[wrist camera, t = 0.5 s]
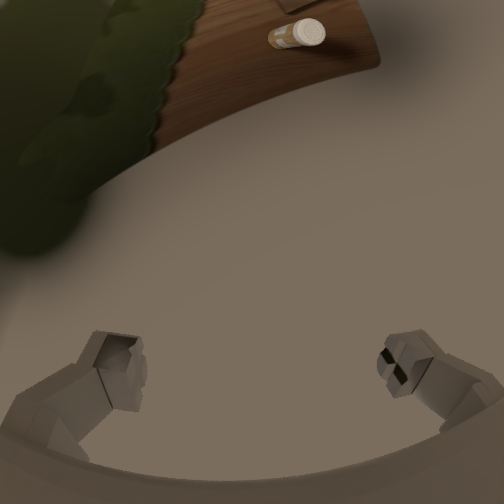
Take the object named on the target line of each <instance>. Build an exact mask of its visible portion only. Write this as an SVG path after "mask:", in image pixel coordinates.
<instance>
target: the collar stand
mask: <svg viewBox="0 0 504 504" xmlns="http://www.w3.org/2000/svg"><path fill="white" fill-rule="evenodd" d="M275 1H276V3H277V4H278V5H279V7H280V8H281V9H282V11H283V12H284V13H285V14H286V13H288V12H291V11H293V10H295V9H297V8H300V7H302V6H304V5H307V4H309V3H311V2H314V1H316V0H275Z"/></svg>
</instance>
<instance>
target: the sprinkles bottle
mask: <svg viewBox="0 0 504 504" xmlns="http://www.w3.org/2000/svg"><path fill="white" fill-rule="evenodd" d="M324 38H325V29H324V27H323V25H322V24H321V23H320V22H319V21H317V20H315V19H311V18H308V19H303V20H300V21H298V22H296V23H292V24H289V25H286V26H283V27H280V28H276V29H274V30H272V31H271V32H270V33H269V36H268V40H269V43H270V44H271V45H272V46H273V47H274V48H277V49H285V48H291V47H298V46H304V45H306V46H313V45H318V44H320V43H321V42H322V41H323V40H324Z"/></svg>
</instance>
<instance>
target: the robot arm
mask: <svg viewBox="0 0 504 504" xmlns="http://www.w3.org/2000/svg"><path fill="white" fill-rule="evenodd" d="M384 344H385V349H384V350H383V351H382V352H381V353H380V354H379V357H378V359H377V369H378V373H379V374H380V376H381V377H382V378H383V379H385V380H387V385H386V386H387V388H388V389H389V391H390V393H391V394H392V396H393V397H394V398H398V397H402V396H406V395H410V394H412V396H413V397H415V398H416V399H417V400H419V401H420V402H422V403H423V404H424V405H426V406H427V407H429V408H430V409H431V410H433V411H434V412H435V413H437V414H438V415H439V416H441V417H442V418H444V419H445V420H446V421H445V422H444V423H443V424H442V425H441V427H440V429H439V431H440V434H437V435H436V436H433V437H431V438H429V439H426V440H424V441H422V442H419V443H417V444H414V445H412V446H409V447H407V448H404V449H401V450H399V451H396V452H393V453H390V454H387V455H384V456H381V457H378V458H375V459H371V460H368V461H364V462H361V463H357V464H353V465H349V466H345V467H341V468H337V469H332V470H327V471H322V472H317V473H311V474H306V475H299V476H291V477H283V478H273V479H262V480H244V481H204V480H187V479H175V478H166V477H157V476H150V475H144V474H138V473H133V472H127V471H122V470H117V469H113V468H109V467H104V466H101V465H97V464H93V463H90V462H89V457H88V455H87V454H86V453H85V452H84V450H83V449H82V448H81V446H80V445H79V444H78V442H80V441H81V440H82V439H83V438H84V437H85V436H86V435H87V434H88V433H89V432H90V431H91V430H92V429H93V428H94V427H96V426H97V425H98V424H99V423H100V422H101V421H102V420H103V419H104V418H105V417H106V416H107V415H108V414H109V413H110V412H111V411H112V410H113V409H118V410H125V411H133V412H139V409H140V404H141V400H142V393H141V388H142V387H143V386H145V382H146V377H147V363H146V358H145V356H144V355H143V354H142V350H143V342H142V338H141V337H140V336H134V335H127V334H120V333H113V332H105V331H98V330H96V331H94V332H93V333H92V335H91V337H90V339H89V340H88V342H87V344H86V346H85V348H84V349H83V351H82V353H81V355H80V357H79V359H78V361H77V363H76V364H74V363H71V364H69V365H68V366H66V367H64V368H63V369H61V370H59V371H57V372H56V373H54V374H52V375H51V376H49V377H47V378H46V379H44V380H42V381H40V382H38V383H37V384H35V385H33V386H32V387H30V388H28V389H26V390H25V391H23V392H21V393H20V394H18V395H16V397H15V399H14V401H13V403H12V405H11V406H10V408H9V410H8V412H7V414H6V416H5V418H4V420H3V422H2V424H1V426H0V504H504V387H503V386H502V385H501V384H500V383H499V382H498V380H496V378H495V377H494V376H493V375H492V374H491V373H488V372H486V371H484V370H482V369H480V368H478V367H476V366H473V365H472V364H469V363H467V362H465V361H463V360H461V359H459V358H457V357H454V356H452V355H450V354H445V353H444V352H443V350H442V349H441V348H440V347H439V346H438V345H437V344H436V343H435V341H433V339H432V338H431V337H430V336H429V335H428V334H427V333H426V332H425V331H424V330H421V329H420V330H415V331H411V332H403V333H396V334H390V335H389V336H388V337H387V338H386V340H385V343H384Z"/></svg>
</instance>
